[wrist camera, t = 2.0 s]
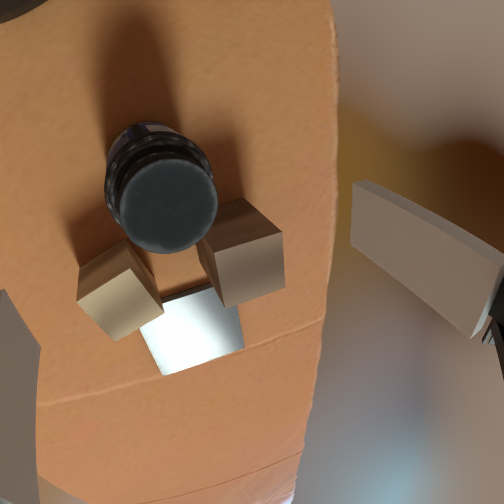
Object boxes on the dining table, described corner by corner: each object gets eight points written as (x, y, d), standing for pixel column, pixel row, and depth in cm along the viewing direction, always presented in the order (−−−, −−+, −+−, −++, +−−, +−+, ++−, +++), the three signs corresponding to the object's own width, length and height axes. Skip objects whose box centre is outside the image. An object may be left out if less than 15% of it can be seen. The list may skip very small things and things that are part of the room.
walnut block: (189, 213, 26) (213, 252, 21) (244, 198, 28) (282, 231, 22) (200, 262, 29) (225, 309, 23) (250, 246, 30) (285, 287, 25)
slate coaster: (131, 308, 28) (132, 313, 27) (229, 276, 31) (232, 280, 30) (161, 370, 34) (163, 376, 33) (242, 343, 36) (244, 347, 36)
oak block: (79, 267, 24) (76, 301, 20) (125, 237, 25) (129, 268, 21) (111, 305, 27) (115, 341, 23) (155, 279, 28) (164, 313, 24)
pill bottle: (127, 210, 24) (140, 288, 15) (94, 143, 20) (76, 183, 11) (195, 175, 25) (249, 232, 16) (168, 106, 21) (207, 118, 13)
